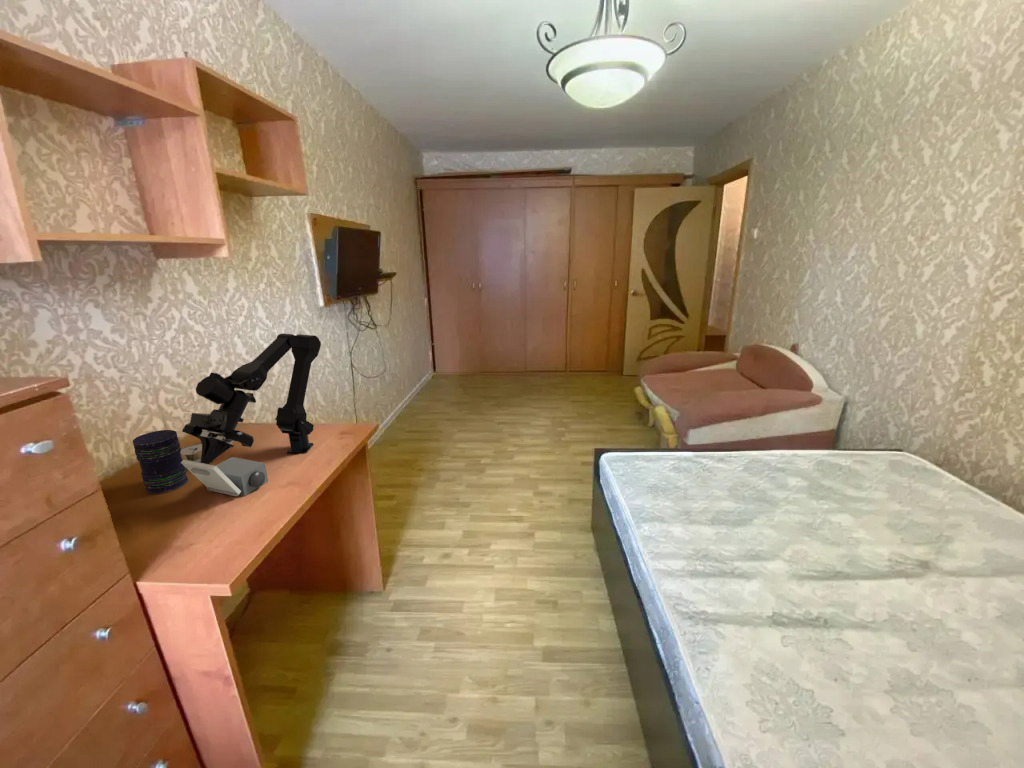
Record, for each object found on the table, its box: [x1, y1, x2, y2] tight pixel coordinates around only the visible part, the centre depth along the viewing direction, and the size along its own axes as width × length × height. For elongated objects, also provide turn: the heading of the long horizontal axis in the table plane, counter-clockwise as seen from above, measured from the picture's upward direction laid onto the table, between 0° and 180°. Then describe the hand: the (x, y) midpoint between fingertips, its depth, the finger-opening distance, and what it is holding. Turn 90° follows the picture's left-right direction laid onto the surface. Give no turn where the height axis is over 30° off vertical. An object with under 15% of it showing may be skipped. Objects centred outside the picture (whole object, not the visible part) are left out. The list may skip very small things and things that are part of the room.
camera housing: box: [215, 456, 269, 497], centre depth 124 cm, size 8×13×6 cm, turn 73°
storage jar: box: [132, 429, 189, 495], centre depth 122 cm, size 10×10×15 cm
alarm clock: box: [180, 441, 202, 463], centre depth 138 cm, size 11×5×15 cm
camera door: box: [181, 460, 241, 497], centre depth 116 cm, size 2×11×12 cm, turn 72°
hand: (203, 465), depth 113 cm, fingers closed, pressing on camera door
